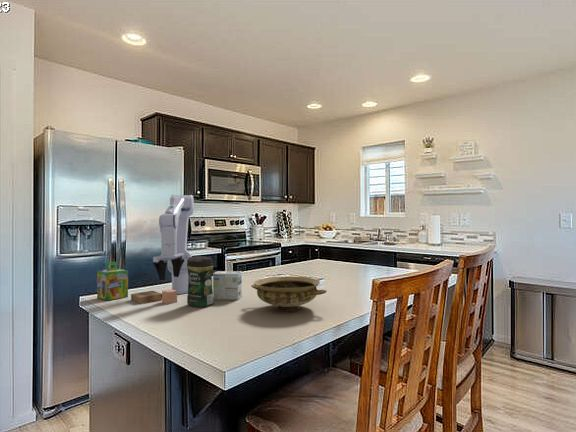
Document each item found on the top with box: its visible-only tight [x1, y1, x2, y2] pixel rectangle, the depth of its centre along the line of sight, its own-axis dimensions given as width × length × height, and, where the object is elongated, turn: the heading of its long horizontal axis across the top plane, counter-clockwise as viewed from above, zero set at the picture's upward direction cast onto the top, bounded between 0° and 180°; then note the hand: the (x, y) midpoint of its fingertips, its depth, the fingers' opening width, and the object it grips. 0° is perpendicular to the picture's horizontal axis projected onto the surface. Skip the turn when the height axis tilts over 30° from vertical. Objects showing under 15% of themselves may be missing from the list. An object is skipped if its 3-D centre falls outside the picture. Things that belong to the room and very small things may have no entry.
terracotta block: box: [161, 289, 178, 305], centre depth 144 cm, size 4×4×4 cm
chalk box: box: [96, 261, 129, 301], centre depth 153 cm, size 9×9×15 cm
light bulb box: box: [212, 270, 243, 301], centre depth 150 cm, size 11×7×11 cm, turn 84°
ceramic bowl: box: [251, 276, 327, 312], centre depth 132 cm, size 30×24×10 cm
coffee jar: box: [186, 255, 214, 308], centre depth 139 cm, size 10×8×19 cm
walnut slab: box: [130, 290, 162, 305], centre depth 148 cm, size 9×9×3 cm
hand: (169, 278), depth 144 cm, fingers open, 7 cm apart
